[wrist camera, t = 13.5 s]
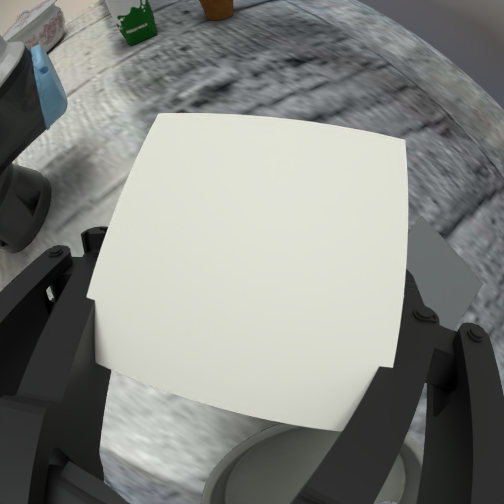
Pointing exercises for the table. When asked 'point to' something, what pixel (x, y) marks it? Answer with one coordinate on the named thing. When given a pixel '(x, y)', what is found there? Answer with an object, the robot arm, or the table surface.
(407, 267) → the mat
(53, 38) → the chamber pot
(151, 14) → the milk carton
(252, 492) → the hoop
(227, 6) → the disposable coffee cup
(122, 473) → the table surface
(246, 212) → the white upright block
